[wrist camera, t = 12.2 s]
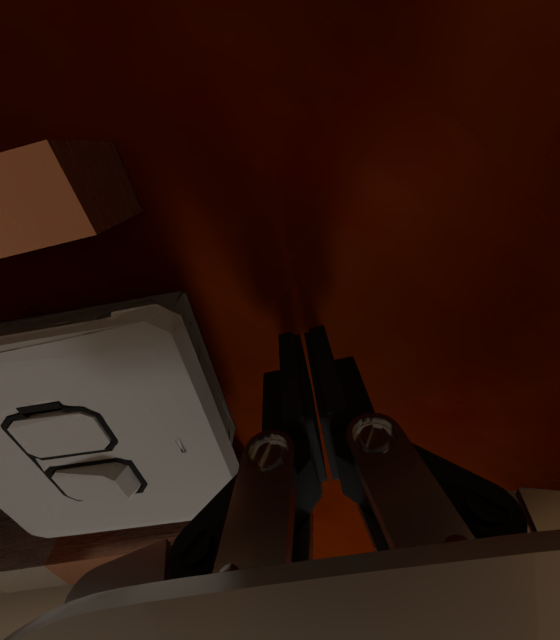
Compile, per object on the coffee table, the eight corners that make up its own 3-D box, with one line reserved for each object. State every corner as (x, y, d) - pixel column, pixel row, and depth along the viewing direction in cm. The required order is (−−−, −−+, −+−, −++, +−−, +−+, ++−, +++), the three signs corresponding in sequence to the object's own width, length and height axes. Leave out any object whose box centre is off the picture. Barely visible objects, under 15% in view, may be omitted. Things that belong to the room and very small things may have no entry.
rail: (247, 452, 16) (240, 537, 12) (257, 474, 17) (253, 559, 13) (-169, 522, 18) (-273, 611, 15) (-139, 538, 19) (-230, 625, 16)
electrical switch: (-170, 369, 8) (121, 358, 6) (6, 288, 13) (211, 265, 10) (29, 540, 13) (234, 567, 11) (107, 437, 17) (264, 442, 15)
